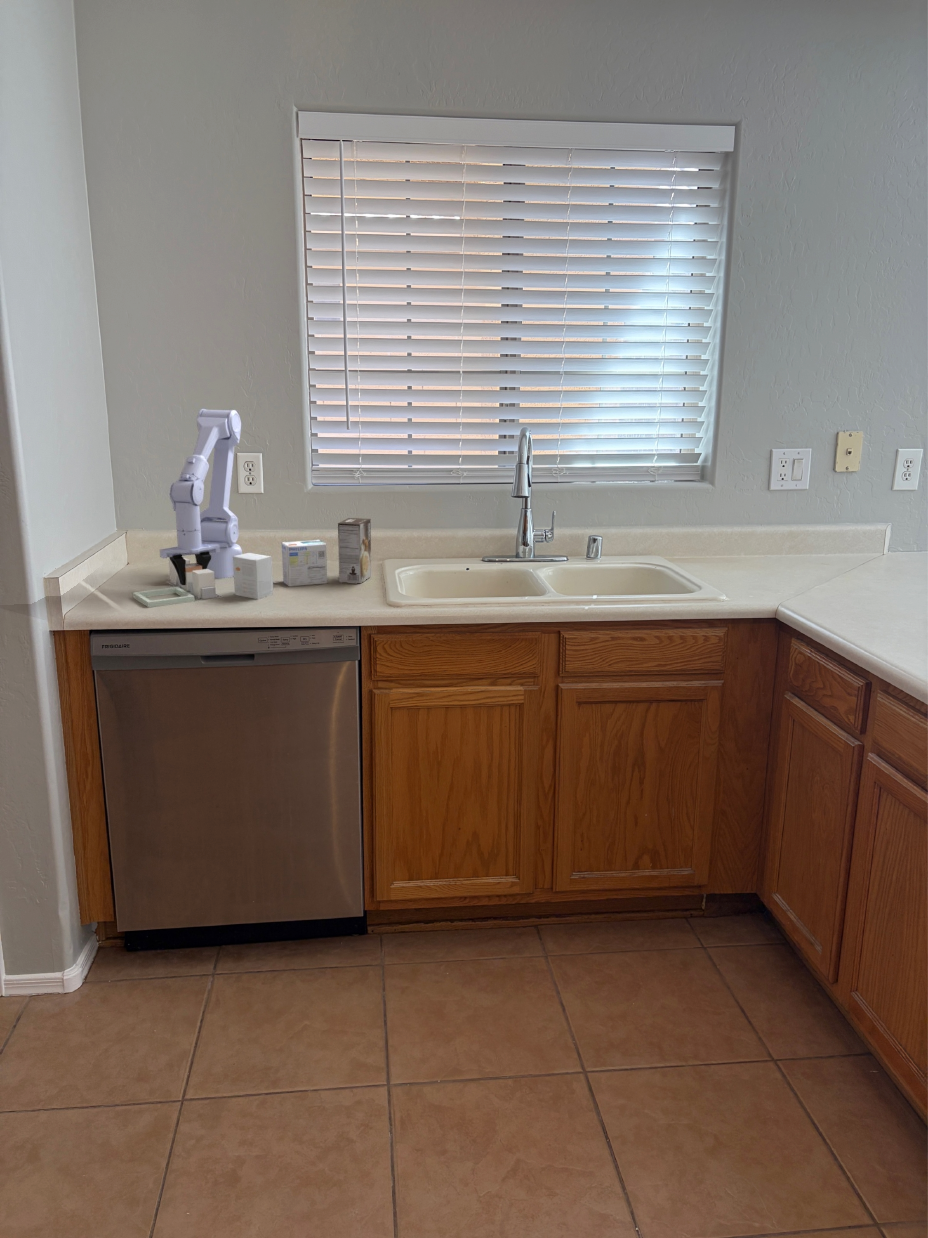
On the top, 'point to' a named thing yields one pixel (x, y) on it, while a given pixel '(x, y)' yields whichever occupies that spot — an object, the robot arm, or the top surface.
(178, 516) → the robot arm
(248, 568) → the small box
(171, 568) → the block
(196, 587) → the block
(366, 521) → the coffee box
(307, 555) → the light bulb box
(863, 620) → the top surface
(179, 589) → the tray
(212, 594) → the fuse holder
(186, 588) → the block
